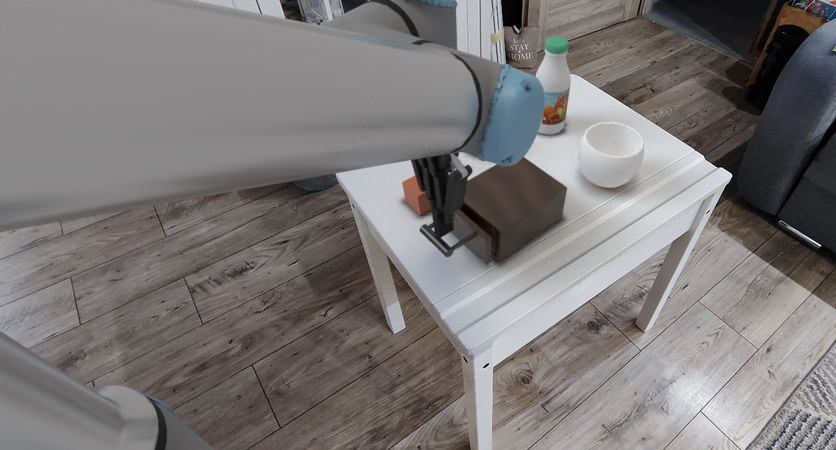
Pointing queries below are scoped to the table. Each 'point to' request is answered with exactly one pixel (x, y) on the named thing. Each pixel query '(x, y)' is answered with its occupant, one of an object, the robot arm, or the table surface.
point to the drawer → (466, 235)
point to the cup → (610, 154)
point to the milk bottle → (554, 85)
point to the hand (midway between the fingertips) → (444, 231)
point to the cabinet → (516, 203)
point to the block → (415, 196)
